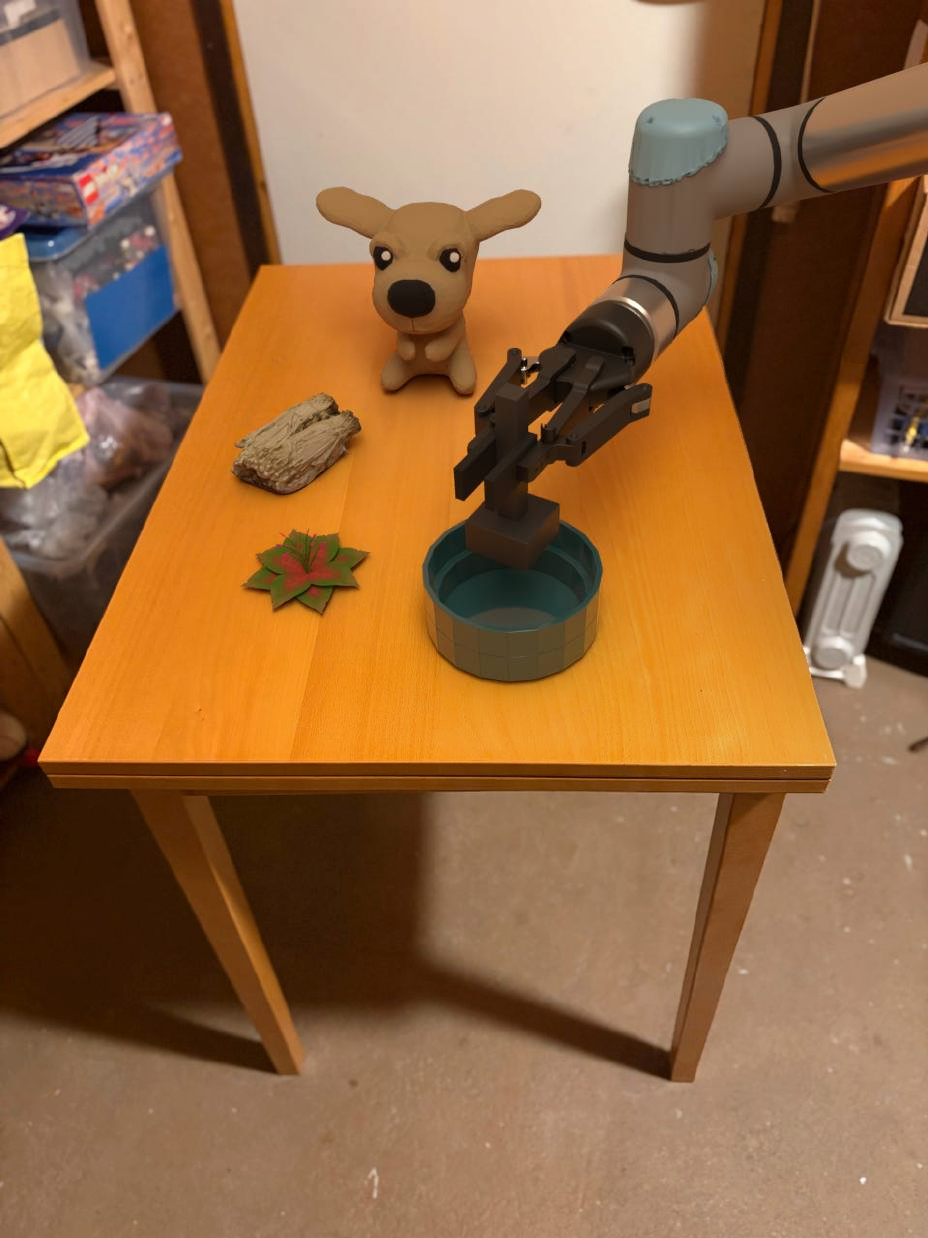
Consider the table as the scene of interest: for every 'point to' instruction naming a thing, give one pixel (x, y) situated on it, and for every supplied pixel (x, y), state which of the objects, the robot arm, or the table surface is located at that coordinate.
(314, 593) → the lily flower
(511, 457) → the robot arm
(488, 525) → the post on square base
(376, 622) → the table surface
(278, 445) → the weathered wood chunk
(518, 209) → the toy
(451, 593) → the bowl
